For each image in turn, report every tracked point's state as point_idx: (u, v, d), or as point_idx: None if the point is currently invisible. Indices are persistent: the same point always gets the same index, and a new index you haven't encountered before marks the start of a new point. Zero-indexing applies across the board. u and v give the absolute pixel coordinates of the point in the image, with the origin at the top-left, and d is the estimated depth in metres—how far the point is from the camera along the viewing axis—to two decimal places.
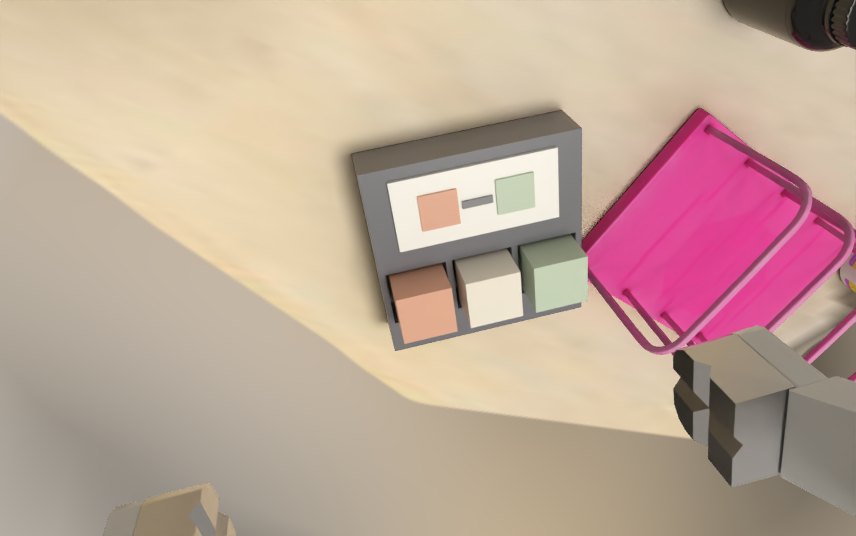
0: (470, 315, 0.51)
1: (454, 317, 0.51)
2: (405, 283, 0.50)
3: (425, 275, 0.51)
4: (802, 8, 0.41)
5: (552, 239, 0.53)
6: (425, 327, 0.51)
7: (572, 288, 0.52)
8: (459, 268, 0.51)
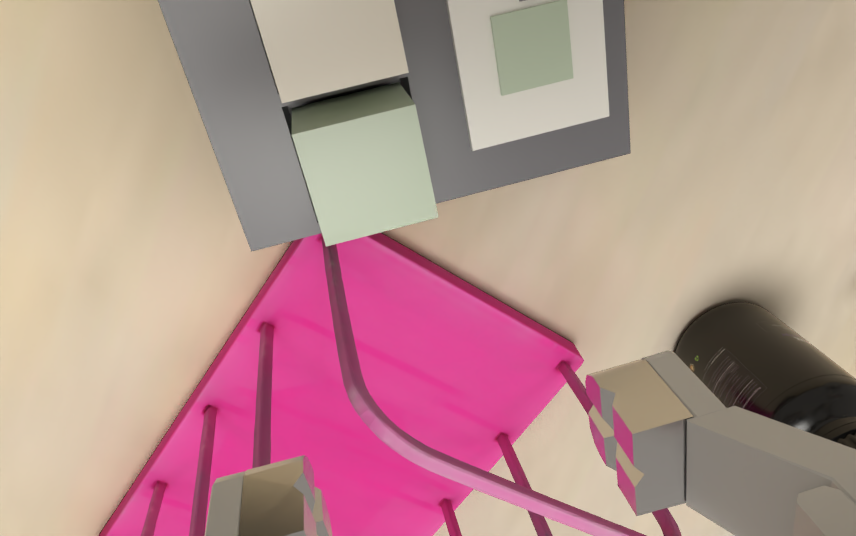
0: None
1: None
2: None
3: None
4: (831, 395, 0.31)
5: None
6: None
7: (358, 204, 0.24)
8: None
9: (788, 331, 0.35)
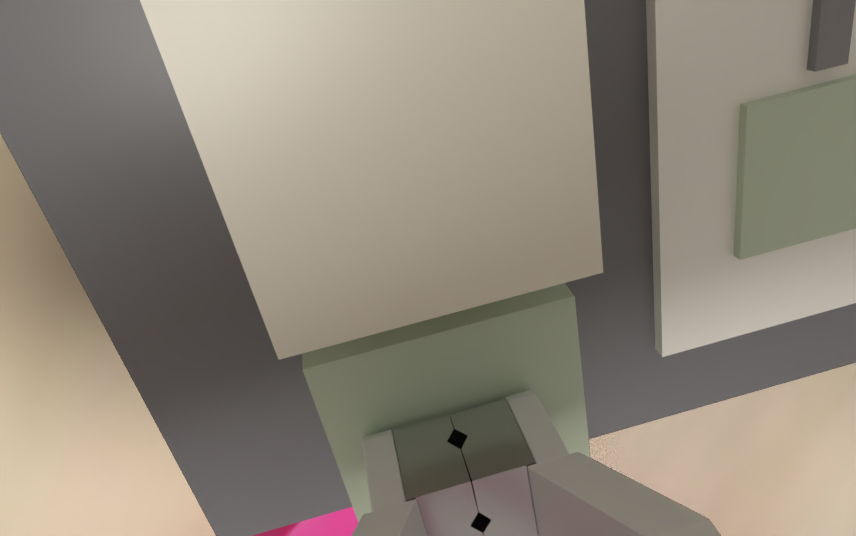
0: None
1: None
2: None
3: None
4: None
5: None
6: None
7: None
8: None
9: None
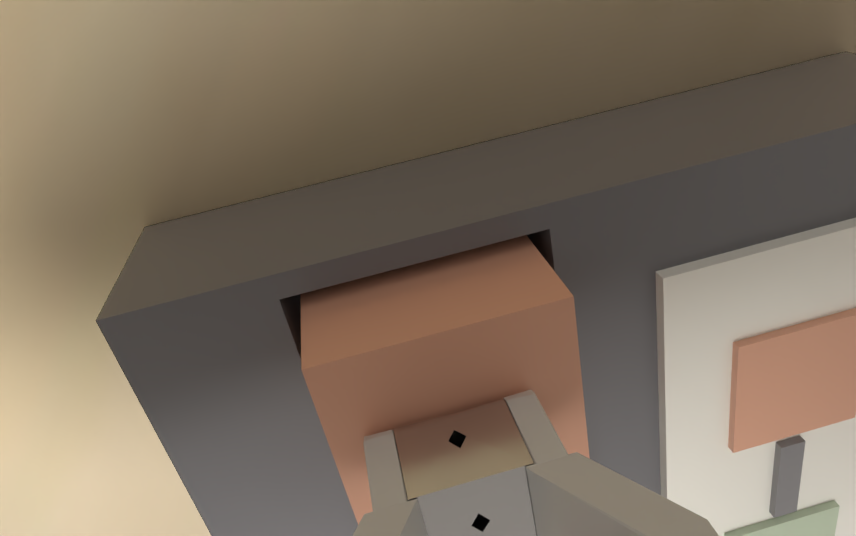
0: None
1: None
2: None
3: None
4: None
5: None
6: None
7: None
8: None
9: None
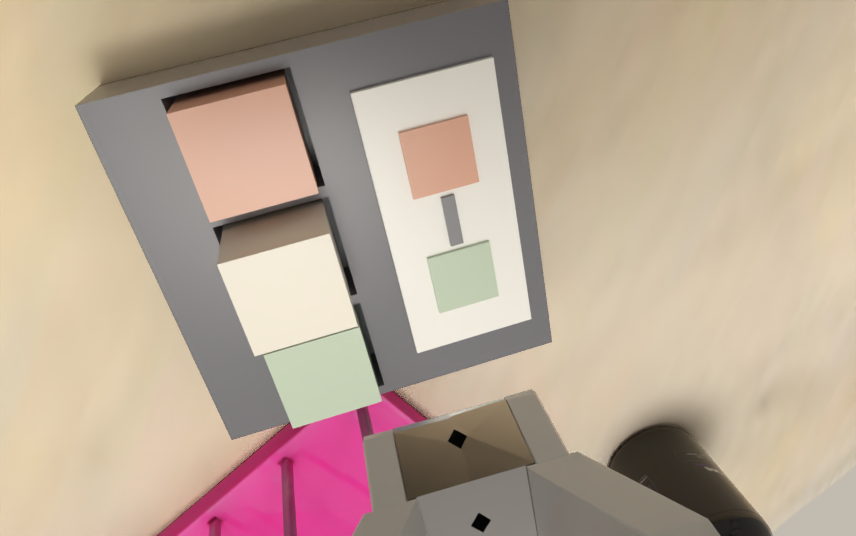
0: (251, 257, 0.25)
1: (246, 210, 0.25)
2: (292, 102, 0.26)
3: (304, 140, 0.27)
4: (729, 530, 0.36)
5: (364, 337, 0.33)
6: (216, 155, 0.24)
7: (317, 397, 0.30)
8: (325, 213, 0.27)
9: (700, 460, 0.41)
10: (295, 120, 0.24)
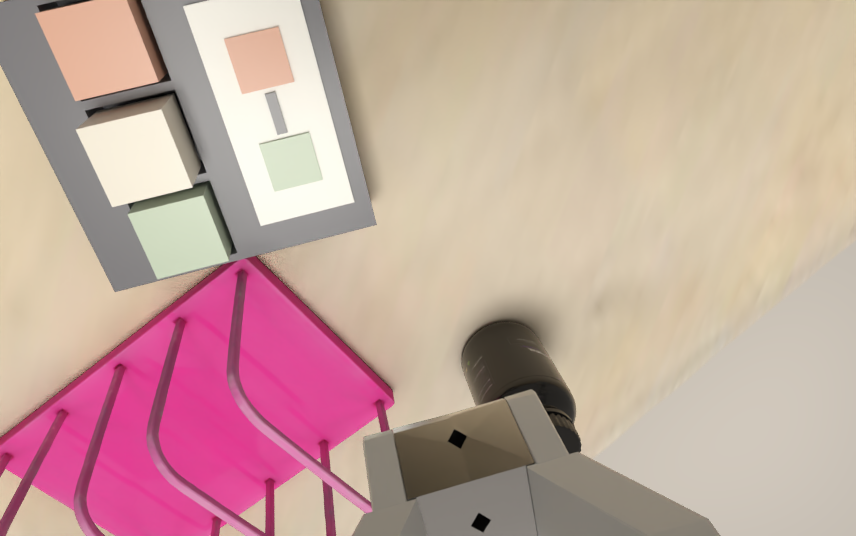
0: (102, 125, 0.33)
1: (102, 92, 0.34)
2: (141, 13, 0.34)
3: (155, 45, 0.35)
4: (529, 389, 0.44)
5: None
6: (75, 47, 0.33)
7: (175, 253, 0.38)
8: (169, 101, 0.35)
9: (527, 344, 0.49)
10: (134, 22, 0.33)
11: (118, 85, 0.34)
